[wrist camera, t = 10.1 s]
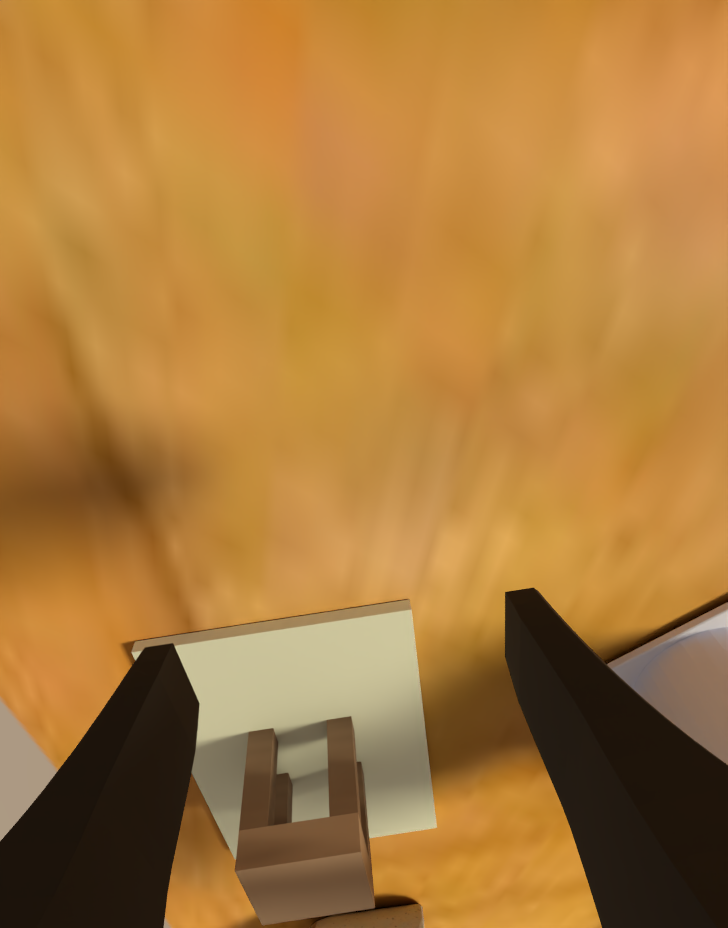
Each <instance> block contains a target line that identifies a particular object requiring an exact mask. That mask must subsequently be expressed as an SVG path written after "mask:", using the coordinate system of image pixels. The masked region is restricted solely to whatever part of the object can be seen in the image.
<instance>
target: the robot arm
mask: <svg viewBox="0 0 728 928" xmlns="http://www.w3.org/2000/svg"><path fill="white" fill-rule="evenodd" d="M505 658H506V661H507V665H508V668H509V671H510V675H511V678H512V682H513V685H514V688H515V692H516V695H517V698H518V701H519V704H520V706H521V709H522V711H523V714H524V716H525V719H526V721H527V723H528V726H529V728H530V731H531V733H532V735H533V738H534V740H535V743H536V745H537V747H538V750H539V752H540V754H541V757H542V759H543V762H544V764H545V766H546V769H547V771H548V773H549V776H550V778H551V780H552V783H553V785H554V788H555V790H556V792H557V795H558V797H559V799H560V802H561V804H562V807H563V809H564V812H565V815H566V817H567V820H568V823H569V825H570V828H571V831H572V834H573V837H574V840H575V843H576V846H577V849H578V852H579V855H580V858H581V861H582V864H583V868H584V871H585V874H586V877H587V880H588V883H589V886H590V889H591V893H592V896H593V899H594V902H595V905H596V909H597V912H598V915H599V918H600V922H601V925H602V928H728V602H727V603H725V604H723V605H721V606H719V607H717V608H715V609H713V610H711V611H709V612H707V613H705V614H703V615H701V616H699V617H697V618H695V619H693V620H692V621H690V622H688V623H686V624H684V625H682V626H680V627H678V628H676V629H674V630H672V631H670V632H668V633H666V634H664V635H662V636H660V637H658V638H656V639H655V640H653V641H651V642H649V643H647V644H645V645H643V646H641V647H639V648H637V649H635V650H633V651H631V652H629V653H627V654H625V655H623V656H621V657H620V658H618V659H616V660H614V661H612V662H610V663H608V664H606V663H605V662H604V661H603V660H602V659H601V658H600V657H599V656H598V655H597V654H596V653H595V652H594V651H593V650H592V649H591V648H590V647H589V646H588V645H587V644H586V643H585V642H584V641H583V640H582V639H581V638H580V637H579V636H578V635H577V634H576V633H575V632H574V631H573V630H572V629H571V628H570V627H569V625H568V624H567V623H566V622H565V621H564V620H563V619H562V618H561V617H560V616H559V615H558V613H557V612H556V611H555V610H554V609H553V608H552V607H551V605H550V604H549V603H548V602H547V601H546V600H545V599H544V597H543V596H542V595H541V594H540V593H539V591H537V590H536V589H534V588H529V589H522V590H516V591H509V592H505ZM199 704H200V703H199V701H198V699H197V696H196V694H195V692H194V690H193V687H192V685H191V683H190V680H189V678H188V676H187V674H186V671H185V669H184V667H183V664H182V662H181V660H180V658H179V655H178V653H177V651H176V649H175V646H174V644H173V643H170V644H163V645H157V646H150V647H145V648H144V649H143V651H142V652H141V653H140V655H139V656H138V658H137V659H136V661H135V662H134V664H133V665H132V667H131V668H130V670H129V671H128V673H127V674H126V676H125V677H124V679H123V680H122V682H121V683H120V685H119V686H118V688H117V689H116V691H115V692H114V694H113V695H112V696H111V698H110V699H109V701H108V702H107V704H106V705H105V707H104V708H103V710H102V711H101V713H100V714H99V715H98V717H97V718H96V720H95V721H94V723H93V724H92V725H91V727H90V728H89V730H88V731H87V732H86V734H85V735H84V737H83V738H82V740H81V741H80V742H79V744H78V745H77V746H76V748H75V749H74V751H73V752H72V753H71V755H70V756H69V757H68V759H67V760H66V761H65V762H64V764H63V765H62V766H61V768H60V769H59V770H58V772H57V773H56V774H55V776H54V777H53V778H52V780H51V781H50V782H49V784H48V785H47V786H46V788H45V789H44V790H43V791H42V792H41V794H40V795H39V796H38V797H37V799H36V800H35V801H34V802H33V803H32V805H31V806H30V807H29V808H28V810H27V811H26V812H25V813H24V814H23V816H22V817H21V818H20V819H19V821H18V822H17V823H16V824H15V825H14V826H13V827H12V829H11V830H10V831H9V832H8V833H7V834H6V835H5V837H4V838H3V839H2V840H1V841H0V928H163V926H164V918H165V909H166V901H167V893H168V887H169V881H170V875H171V869H172V864H173V859H174V854H175V849H176V844H177V840H178V835H179V830H180V825H181V821H182V816H183V811H184V806H185V801H186V797H187V792H188V787H189V782H190V777H191V772H192V767H193V762H194V757H195V751H196V741H197V731H198V718H199Z"/></svg>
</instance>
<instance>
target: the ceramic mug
mask: <svg viewBox="0 0 728 928" xmlns="http://www.w3.org/2000/svg"><path fill="white" fill-rule="evenodd" d="M310 928H424V918H423V910H422V906H421V905H420V904H412V905H405V906H398V907H390V908H382V909H376V910H370V911H365V912H358V913H348V914H340V915H333V916H330V917H327V918H324V919H321V920H319V921H316V922H315V923H314V924H313V925H312V926H311V927H310Z"/></svg>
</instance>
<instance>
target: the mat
mask: <svg viewBox="0 0 728 928" xmlns="http://www.w3.org/2000/svg"><path fill="white" fill-rule="evenodd" d="M170 643H173V644H174V646H175V649H176V651H177V653H178V655H179V658H180V660H181V662H182V664H183V667H184V669H185V671H186V674H187V676H188V678H189V680H190V683H191V685H192V687H193V690H194V692H195V694H196V696H197V699H198V701H199V703H200V704H199V718H198V731H197V741H196V751H195V757H194V762H193V767H192V772H191V773H192V775H193V777H194V779H195V781H196V783H197V785H198V787H199V789H200V791H201V793H202V795H203V797H204V799H205V801H206V803H207V805H208V807H209V809H210V811H211V813H212V815H213V817H214V819H215V821H216V823H217V825H218V827H219V829H220V830H221V832H222V834H223V836H224V838H225V840H226V842H227V844H228V846H229V848H230V850H231V852H232V854H233V856H234V858H235V859H236V855H237V845H238V835H239V825H240V814H241V804H242V794H243V784H244V774H245V764H246V754H247V743H248V733H249V732H250V731H257V730H263V729H270V728H273V729H274V732H275V735H276V737H277V740H278V758H277V774H282V773H289V776H290V779H291V782H292V785H293V794H292V823H293V822H299V821H306V820H312V819H319V818H325V817H329V785H328V750H327V720H329V719H336V718H342V717H349V716H351V718H352V722H353V727H354V732H355V745H356V759H357V762H361V764H362V768H363V773H364V782H365V794H366V806H367V818H368V829H369V838H374V837H381V836H387V835H393V834H400V833H406V832H413V831H419V830H426V829H432V828H437V825H436V816H435V808H434V799H433V790H432V782H431V773H430V765H429V756H428V747H427V739H426V730H425V722H424V713H423V704H422V696H421V687H420V679H419V670H418V661H417V653H416V644H415V636H414V627H413V618H412V610H411V605H410V600H402V601H396V602H389V603H383V604H376V605H370V606H363V607H357V608H350V609H344V610H337V611H331V612H324V613H318V614H311V615H305V616H298V617H291V618H285V619H278V620H272V621H265V622H259V623H252V624H246V625H239V626H233V627H226V628H220V629H213V630H207V631H200V632H194V633H187V634H181V635H174V636H168V637H161V638H154V639H148V640H141V641H135V643H134V646H133V649H132V652H131V653H132V655H133V657H134V659H135V661H136V659H137V658H138V656H139V655H140V653H141V652H142V651H143V649H144V648H145V647H150V646H157V645H163V644H170Z"/></svg>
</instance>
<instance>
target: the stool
mask: <svg viewBox="0 0 728 928" xmlns="http://www.w3.org/2000/svg"><path fill="white" fill-rule="evenodd" d="M327 750H328V785H329V817H325V818H319V819H312V820H306V821H299V822H293V823H292V794H293V785H292V782H291V779H290V776H289V773H282V774H277V758H278V740H277V737H276V735H275V732H274V729H273V728H270V729H263V730H257V731H250V732H249V733H248V743H247V754H246V764H245V774H244V784H243V794H242V804H241V814H240V825H239V835H238V845H237V855H236V865H235V872H236V874H237V876H238V878H239V880H240V882H241V884H242V886H243V888H244V890H245V892H246V894H247V896H248V898H249V900H250V902H251V904H252V906H253V908H254V910H255V912H256V914H257V916H258V918H259V920H260V922H261V924H262V925H269V924H275V923H282V922H288V921H295V920H301V919H308V918H314V917H321V916H327V915H334V914H340V913H347V912H353V911H360V910H366V909H372V908H375V901H374V889H373V877H372V865H371V853H370V841H369V829H368V818H367V806H366V794H365V782H364V773H363V768H362V764H361V762H357V759H356V745H355V732H354V727H353V722H352V718H351V716H349V717H342V718H336V719H329V720H327Z"/></svg>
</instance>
